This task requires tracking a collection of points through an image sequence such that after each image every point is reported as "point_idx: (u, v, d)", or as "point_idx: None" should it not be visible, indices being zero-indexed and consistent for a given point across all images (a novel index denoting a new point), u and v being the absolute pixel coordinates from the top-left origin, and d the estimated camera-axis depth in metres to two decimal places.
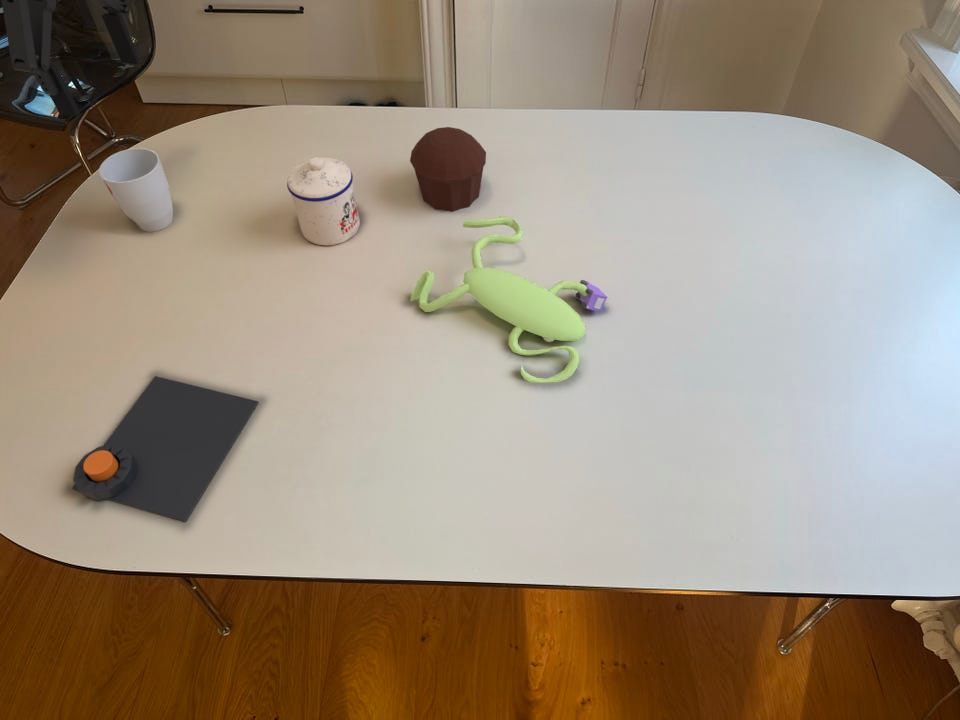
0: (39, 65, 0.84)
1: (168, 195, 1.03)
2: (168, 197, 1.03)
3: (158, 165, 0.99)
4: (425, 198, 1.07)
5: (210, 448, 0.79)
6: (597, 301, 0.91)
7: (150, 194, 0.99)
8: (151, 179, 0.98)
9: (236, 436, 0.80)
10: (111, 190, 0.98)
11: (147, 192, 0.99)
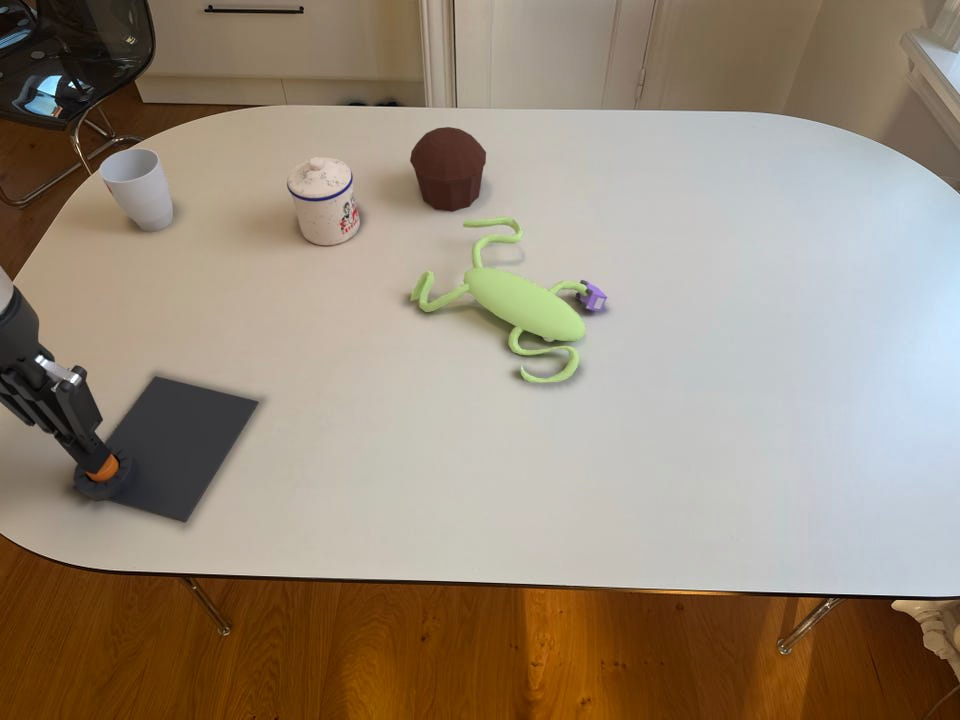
0: None
1: (168, 195, 1.03)
2: (168, 197, 1.03)
3: (158, 165, 0.99)
4: (425, 198, 1.07)
5: (210, 448, 0.79)
6: (597, 301, 0.91)
7: (150, 194, 0.99)
8: (151, 179, 0.98)
9: (236, 436, 0.80)
10: (111, 190, 0.98)
11: (147, 192, 0.99)
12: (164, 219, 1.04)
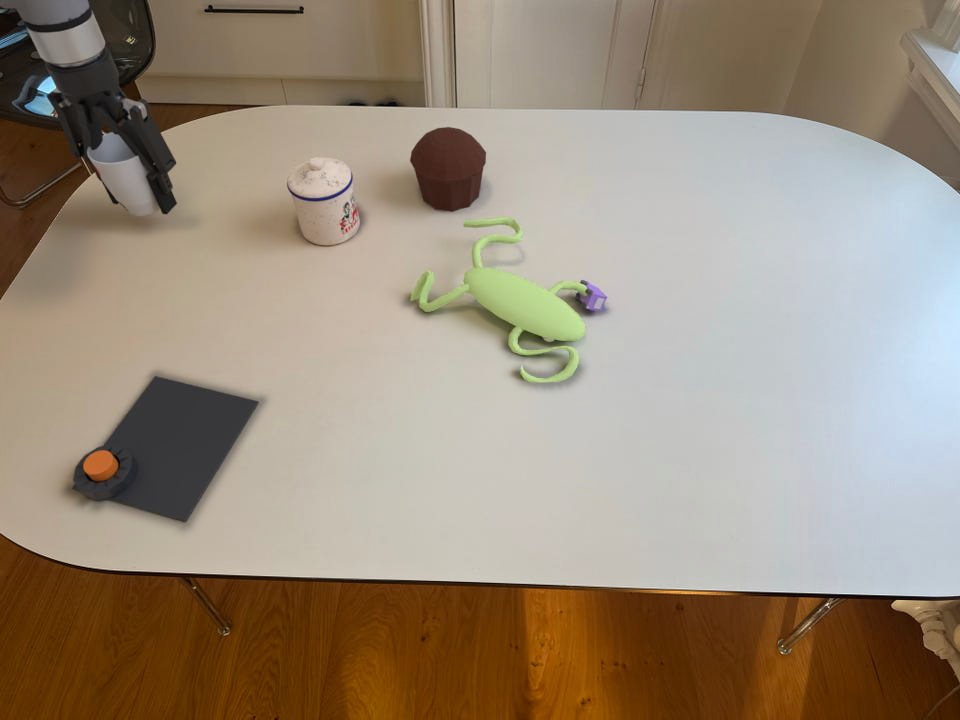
0: None
1: None
2: None
3: None
4: (425, 198, 1.07)
5: (210, 448, 0.79)
6: (596, 301, 0.91)
7: (139, 176, 0.97)
8: None
9: (236, 436, 0.80)
10: (100, 172, 0.96)
11: (136, 174, 0.97)
12: (154, 203, 1.02)
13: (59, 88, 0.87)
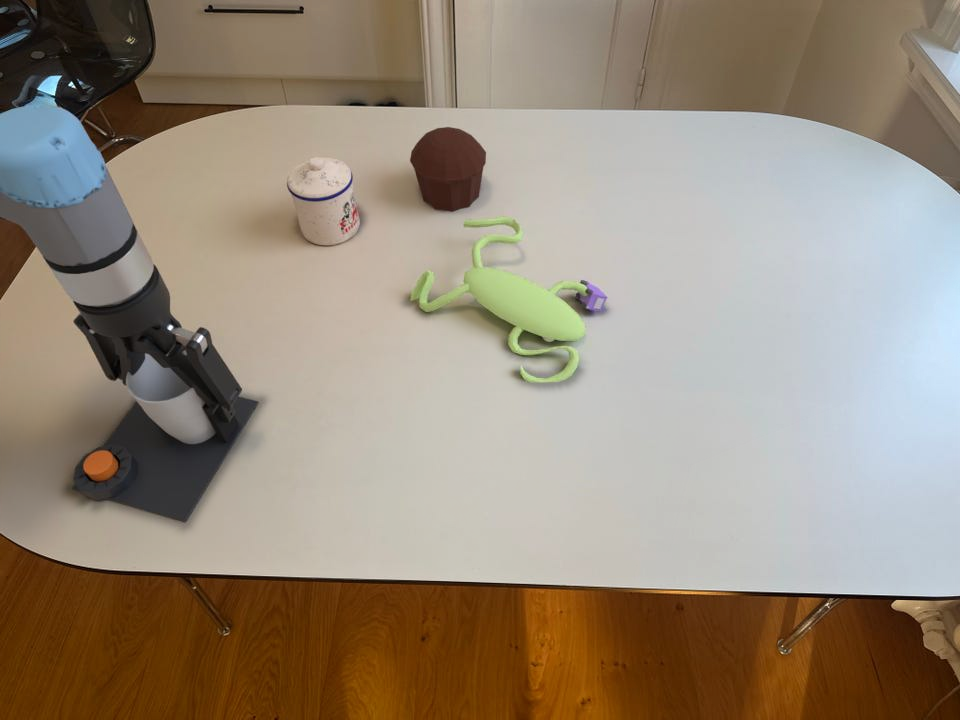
0: None
1: None
2: None
3: None
4: (425, 198, 1.07)
5: (210, 448, 0.79)
6: (596, 301, 0.91)
7: (194, 409, 0.73)
8: None
9: (236, 436, 0.80)
10: (143, 408, 0.72)
11: (191, 407, 0.73)
12: (210, 430, 0.78)
13: (91, 327, 0.63)
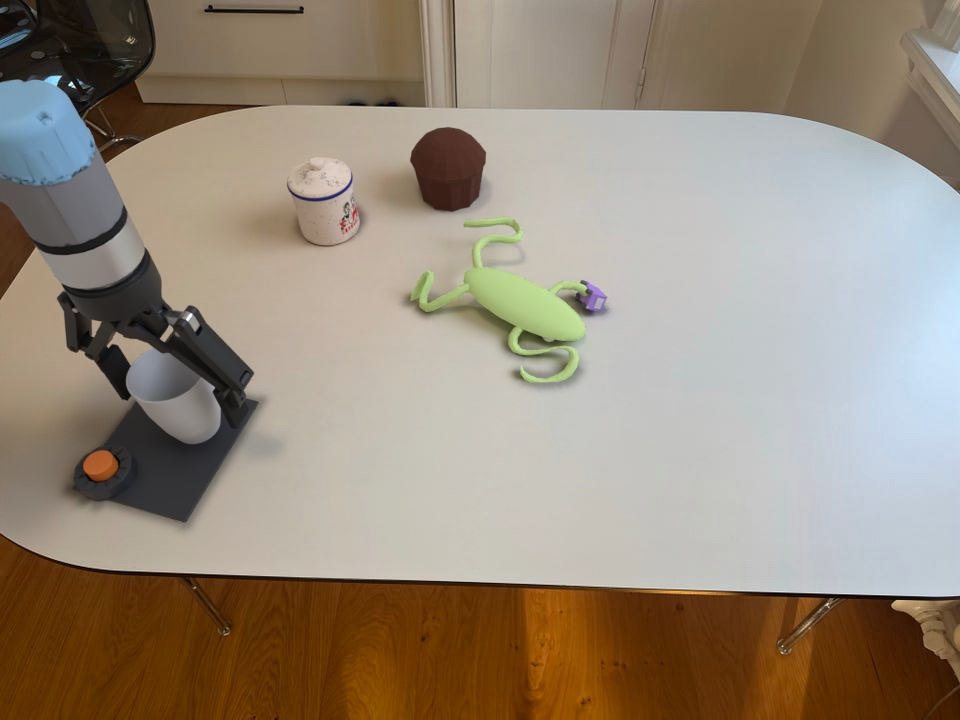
0: None
1: None
2: (216, 403, 0.77)
3: None
4: (425, 198, 1.07)
5: (210, 448, 0.79)
6: (596, 301, 0.91)
7: (194, 409, 0.73)
8: (197, 393, 0.72)
9: (236, 436, 0.80)
10: (143, 408, 0.72)
11: (191, 407, 0.73)
12: (210, 430, 0.78)
13: (80, 311, 0.62)
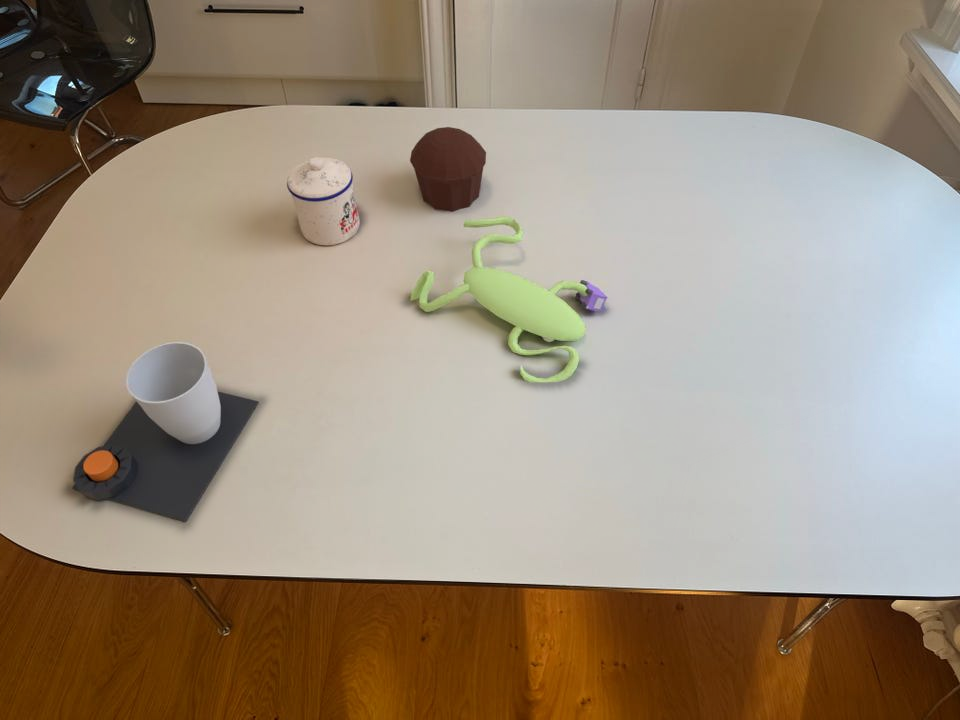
0: None
1: (216, 401, 0.77)
2: (216, 403, 0.77)
3: (205, 371, 0.73)
4: (425, 198, 1.07)
5: (210, 448, 0.79)
6: (596, 301, 0.91)
7: (194, 409, 0.73)
8: (197, 393, 0.72)
9: (236, 436, 0.80)
10: (143, 408, 0.72)
11: (191, 407, 0.73)
12: (210, 430, 0.78)
13: None
